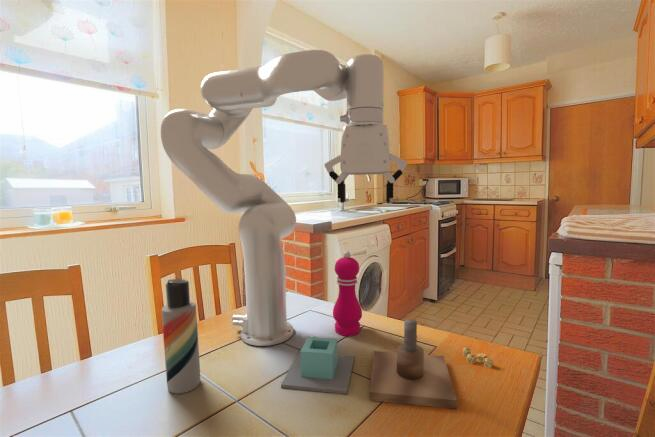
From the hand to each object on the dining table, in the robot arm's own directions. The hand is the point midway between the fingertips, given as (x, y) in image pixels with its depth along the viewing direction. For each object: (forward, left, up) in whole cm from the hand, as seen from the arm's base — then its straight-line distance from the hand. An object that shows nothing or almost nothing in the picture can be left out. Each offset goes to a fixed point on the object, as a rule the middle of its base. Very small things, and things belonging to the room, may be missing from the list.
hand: (365, 202), depth 73 cm
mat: (-8, -12, -32) cm, 35 cm away
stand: (+9, -12, -32) cm, 36 cm away
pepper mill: (-5, +7, -32) cm, 34 cm away
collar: (-8, -12, -32) cm, 35 cm away
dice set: (+23, -3, -33) cm, 40 cm away
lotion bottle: (-32, -20, -32) cm, 50 cm away
